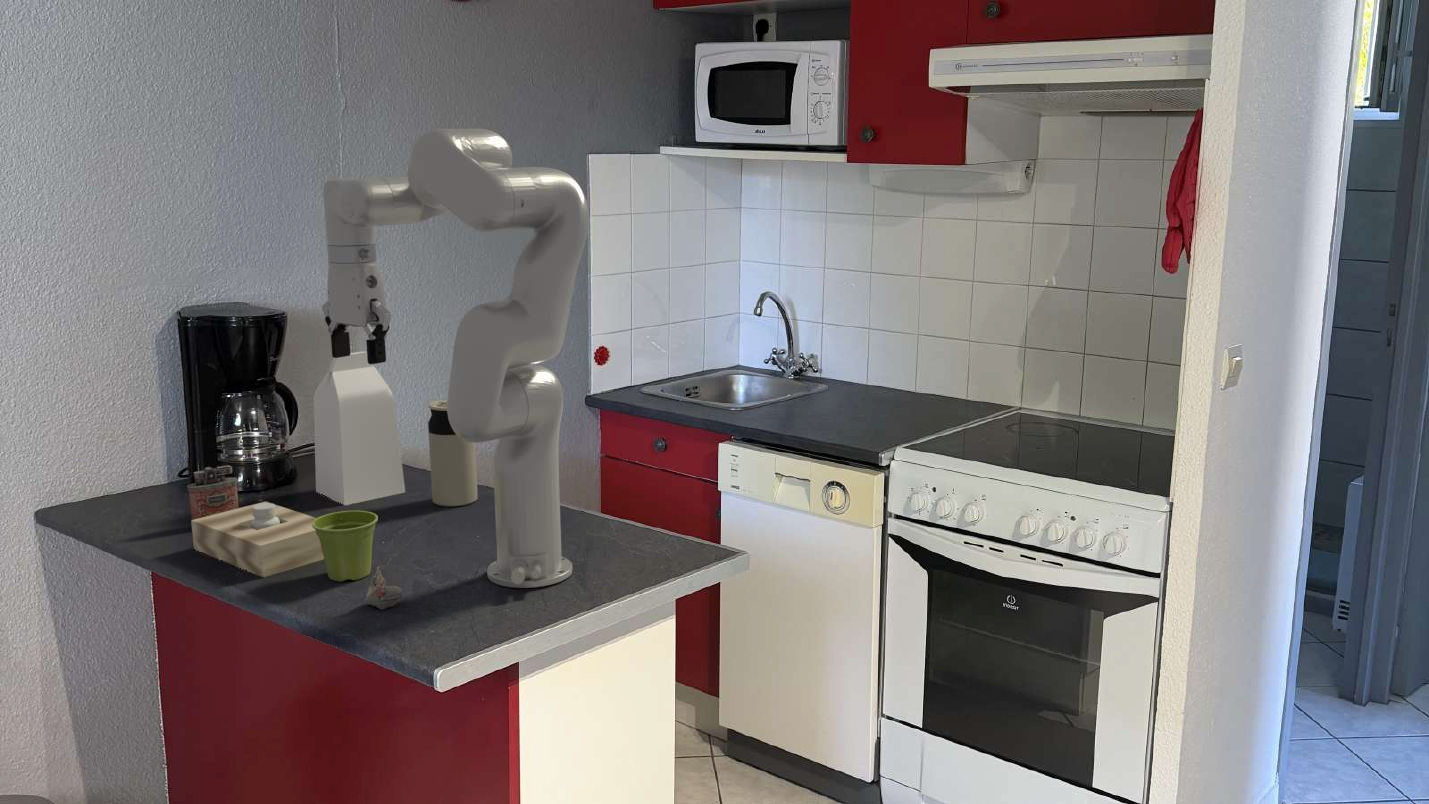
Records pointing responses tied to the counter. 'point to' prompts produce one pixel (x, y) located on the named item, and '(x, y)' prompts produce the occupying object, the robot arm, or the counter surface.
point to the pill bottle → (264, 516)
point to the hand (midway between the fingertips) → (359, 359)
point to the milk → (356, 433)
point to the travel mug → (450, 461)
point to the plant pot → (346, 543)
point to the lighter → (213, 492)
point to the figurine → (383, 593)
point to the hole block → (258, 540)
